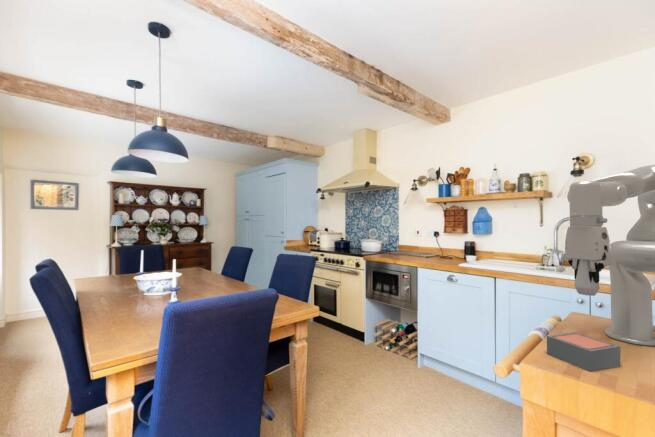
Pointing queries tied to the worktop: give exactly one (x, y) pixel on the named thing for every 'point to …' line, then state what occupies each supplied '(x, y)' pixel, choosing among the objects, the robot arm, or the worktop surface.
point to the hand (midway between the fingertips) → (586, 283)
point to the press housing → (584, 353)
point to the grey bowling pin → (585, 280)
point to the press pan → (583, 341)
